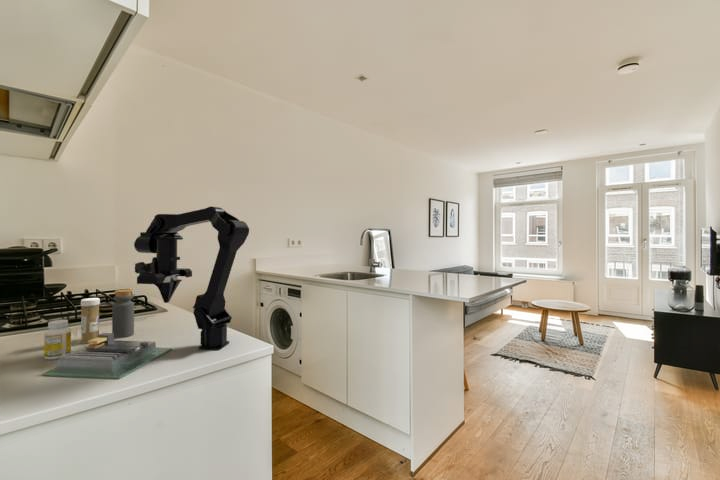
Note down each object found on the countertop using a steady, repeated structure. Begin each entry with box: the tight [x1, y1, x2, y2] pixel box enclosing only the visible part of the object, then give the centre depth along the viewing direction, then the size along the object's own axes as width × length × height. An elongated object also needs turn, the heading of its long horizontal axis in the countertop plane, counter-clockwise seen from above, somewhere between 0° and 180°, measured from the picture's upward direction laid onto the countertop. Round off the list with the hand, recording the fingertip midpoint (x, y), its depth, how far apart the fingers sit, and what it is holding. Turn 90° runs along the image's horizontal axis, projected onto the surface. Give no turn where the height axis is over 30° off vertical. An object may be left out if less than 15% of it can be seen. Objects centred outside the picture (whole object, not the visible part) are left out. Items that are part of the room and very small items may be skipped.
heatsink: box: [43, 339, 173, 380], centre depth 85 cm, size 19×19×4 cm
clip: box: [87, 332, 115, 345], centre depth 87 cm, size 3×5×3 cm, turn 177°
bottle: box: [111, 288, 135, 339], centre depth 107 cm, size 6×6×15 cm
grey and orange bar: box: [85, 343, 144, 352], centre depth 85 cm, size 13×3×1 cm, turn 87°
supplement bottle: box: [43, 319, 72, 360], centre depth 89 cm, size 5×5×10 cm
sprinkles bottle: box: [80, 297, 101, 345], centre depth 101 cm, size 5×5×14 cm
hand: (166, 302), depth 103 cm, fingers closed
